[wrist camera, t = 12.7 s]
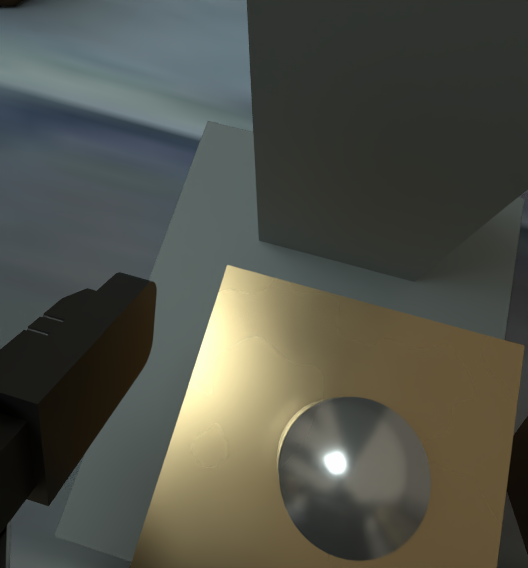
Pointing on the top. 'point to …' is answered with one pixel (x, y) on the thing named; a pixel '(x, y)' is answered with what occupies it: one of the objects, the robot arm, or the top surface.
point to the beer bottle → (9, 2)
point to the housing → (334, 438)
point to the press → (333, 202)
